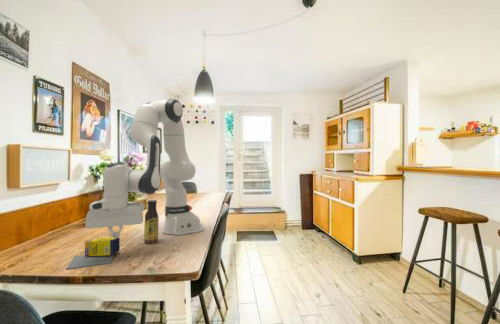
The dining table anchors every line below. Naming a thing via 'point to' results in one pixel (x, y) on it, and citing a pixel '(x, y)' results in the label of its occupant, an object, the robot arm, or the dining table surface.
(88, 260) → the slate pad
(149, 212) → the sauce bottle
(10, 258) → the dining table surface
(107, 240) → the supplement box
